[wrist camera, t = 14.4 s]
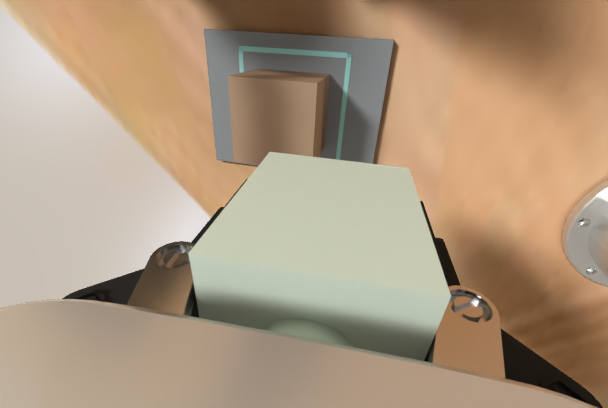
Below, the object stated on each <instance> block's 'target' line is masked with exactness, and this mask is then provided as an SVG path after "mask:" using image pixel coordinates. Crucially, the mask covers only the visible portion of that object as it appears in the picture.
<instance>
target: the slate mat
mask: <svg viewBox="0 0 608 408" xmlns="http://www.w3.org/2000/svg"><path fill="white" fill-rule="evenodd" d="M204 34H205V44H206V54H207V65H208V75H209V85H210V95H211V106H212V116H213V126H214V137H215V147H216V157H217V160H220V161H228V162H234V157H233V143H232V129H231V115H230V101H229V87H228V76H230V75H234V74H238V73H242V72H246V71H250V70H254V69H268V70H281V71H295V72H308V73H321V74H330V82H329V94H328V107H327V119H326V131H325V143H324V149H323V151H322V153H321V155H320V157H319V158H328V159H336V160H345V161H353V162H362V163H370V164H373V159H374V154H375V148H376V142H377V136H378V130H379V124H380V119H381V113H382V107H383V101H384V95H385V89H386V84H387V78H388V72H389V66H390V60H391V55H392V49H393V43H394V40H386V39H369V38H352V37H334V36H317V35H299V34H282V33H265V32H247V31H230V30H212V29H204ZM235 163H240V162H235ZM243 164H248V163H243ZM250 165H255V164H250ZM257 166H259V165H257Z"/></svg>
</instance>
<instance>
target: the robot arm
mask: <svg viewBox="0 0 608 408" xmlns="http://www.w3.org/2000/svg"><path fill="white" fill-rule="evenodd" d="M247 180H248V179H246V180H245V182H246V181H247ZM245 182H244V183H245ZM244 183H243V184H242V185H241V187H242V186H243V185H244ZM241 187H240V188H241ZM240 188H239V189H238V190H237V192H238V191H239V190H240ZM237 192H236V193H237ZM236 193H235V194H234V195H233V197H234V196H235V195H236ZM233 197H232V198H233ZM232 198H231V199H232ZM231 199H230V200H229V202H230V201H231ZM229 202H228V203H229ZM228 203H227V204H228ZM420 203H421V206H422V209H423V212H424V215H425V218H426V221H427V224H428V227H429V230H430V233H431V236H432V240H433V243H434V246H435V249H436V252H437V255H438V258H439V261H440V264H441V267H442V270H443V273H444V276H445V279H446V282H447V285H448V288H449V291H450V294H451V298H450V301H449V303H448V305H447V308H446V310H445V312H444V315H443V317H442V320H441V322H440V324H439V327H438V329H437V331H436V334H435V336H434V339H433V341H432V343H431V346H430V348H429V350H428V353H427V355H426V358H425V360H424V361H421V360H416V359H411V358H406V357H401V356H396V355H391V354H385V353H380V352H375V351H370V350H365V349H360V348H355V347H350V346H345V345H340V344H334V343H329V342H324V341H319V340H314V339H308V338H303V337H298V336H293V335H288V334H282V333H277V332H272V331H267V330H261V329H256V328H251V327H246V326H240V325H235V324H229V323H224V322H219V321H213V320H208V319H202V318H199V312H198V306H197V300H196V294H195V288H194V283H193V277H192V271H191V265H190V259H189V252H190V251H191V249H192V248H193V247H194V246H195V244H196V243H197V242H198V241H199V239H200V238H201V237H202V236H203V234H204V233H205V232H206V231H207V229H208V228H209V227H210V226H211V224H212V223H213V222H214V221H215V219H216V218H217V217H218V216H219V214H220V213H221V212H222V211H223V209H224V208H225V207H226V206H227V204H226V205H225V207H221V208H220V209H218V211H217V212H216V213H215V214H214V215H213V217H212V218H211V219H210V220H209V222H208V223H207V224H206V226H205V227H204V228H203V229H202V230H201V231H200V233H199V234H198V235H197V236H196V237H195V239H194V240H193V241H192V242H191V243H190V242H183V241H180V242H173V243H169V244H166V245H164V246H162V247H160V248H158V249H157V250H156V251H155V252H154V253H153V254H152V255H151V257H150V259H149V261H148V263H147V265H146V267H145V269H142V270H139V271H136V272H133V273H129V274H126V275H123V276H121V277H117V278H114V279H111V280H108V281H105V282H102V283H99V284H96V285H93V286H90V287H87V288H84V289H81V290H78V291H76V292H74V293H71V294H69V295H68V296H66V297H64V298H63V299H53V300H42V301H34V302H26V303H21V304H16V305H12V306H7V307H4V308H0V408H603V407H602V406H601V404H600V403H599V402H598V401H597V400H596V399H595V398H594V396H593V395H592V394H591V393H589V392H588V391H587V390H586V389H585V388H583V387H582V386H581V385H580V384H578V383H577V382H575V381H574V380H573V379H571V378H570V377H568V376H567V375H566V374H564V373H563V372H561V371H560V370H558V369H557V368H556V367H554V366H553V365H551V364H550V363H549V362H547V361H546V360H544V359H543V358H542V357H540V356H539V355H537V354H536V353H534V352H533V351H532V350H530V349H529V348H527V347H526V346H525V345H523V344H522V343H520V342H519V341H518V340H516V339H515V338H513V337H512V336H510V335H509V334H508V333H506V332H505V331H503V330H502V329H501V328H500V318H499V313H498V310H497V308H496V307H495V305H494V304H493V302H491V301H490V300H489V299H488V298H487V297H486V296H484V295H483V294H481V293H480V292H478V291H476V290H474V289H471V288H469V287H465V286H461V285H460V283H459V280H458V277H457V275H456V272H455V269H454V267H453V264H452V261H451V259H450V256H449V254H448V251H447V248H446V246H445V243H444V241H443V239H441V238H435V236H434V234H433V231H432V228H431V225H430V222H429V219H428V216H427V213H426V210H425V207H424V204H423V202H422V201H420ZM562 247H563V251H564V253H565V255H566V257H567V259H568V260H569V262H570V263H571V264H572V265H573V266H574V268H575V269H576V270H577V271H578V272H579V273H581V274H582V275H583V276H584V277H586V278H588V279H590V280H592V281H594V282H596V283H599V284H602V285H605V286H608V180H606V181H605V182H603V183H601V184H600V185H598V186H597V187H595V188H594V189H593V190H592V191H590V192H589V193H588V194H587V195H585V196H584V197H583V198H582V199H581V200H580V201H579V203H578V204H577V205H576V206H575V207H574V208H573V210H572V211H571V213H570V214H569V216H568V218H567V219H566V222H565V225H564V227H563V230H562Z"/></svg>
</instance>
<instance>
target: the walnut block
mask: <svg viewBox="0 0 608 408" xmlns="http://www.w3.org/2000/svg"><path fill="white" fill-rule="evenodd" d="M329 82H330V74H321V73H308V72H295V71H281V70H268V69H254V70H250V71H246V72H242V73H238V74H234V75H230V76H228V87H229V101H230V115H231V129H232V143H233V157H234V162H240V163H248V164H255V165H260V163H261V162H262V161H263V160H264V158H265V157H266V156H267V155H268V153H269V152H277V153H285V154H294V155H302V156H311V157H320V155H321V153H322V151H323V149H324V143H325V131H326V119H327V107H328V94H329Z"/></svg>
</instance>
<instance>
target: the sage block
mask: <svg viewBox="0 0 608 408" xmlns="http://www.w3.org/2000/svg"><path fill="white" fill-rule="evenodd" d="M189 259H190V265H191V271H192V277H193V283H194V288H195V294H196V300H197V306H198V312H199V318H202V319H208V320H213V321H219V322H224V323H229V324H235V325H240V326H246V327H251V328H256V329H261V330H267V331H272V332H277V333H282V334H288V335H293V336H298V337H303V338H308V339H314V340H319V341H324V342H329V343H334V344H340V345H345V346H350V347H355V348H360V349H365V350H370V351H375V352H380V353H385V354H391V355H396V356H401V357H406V358H411V359H416V360H421V361H424V360H425V358H426V355H427V353H428V350H429V348H430V346H431V343H432V341H433V339H434V336H435V334H436V331H437V329H438V327H439V324H440V322H441V320H442V317H443V315H444V312H445V310H446V308H447V305H448V303H449V301H450V298H451V294H450V291H449V288H448V285H447V282H446V279H445V276H444V273H443V270H442V267H441V264H440V261H439V258H438V255H437V252H436V249H435V246H434V243H433V240H432V236H431V233H430V230H429V227H428V224H427V221H426V218H425V215H424V212H423V209H422V206H421V203H420V200H419V197H418V194H417V191H416V188H415V185H414V182H413V179H412V176H411V173H410V170H409V168H404V167H396V166H387V165H379V164H370V163H362V162H353V161H345V160H336V159H328V158H319V157H311V156H302V155H294V154H285V153H277V152H269V153H268V155H267V156H266V157H265V158H264V160H263V161H262V162H261V163H260V165H259V166H258V167H257V168H256V170H255V171H254V172H253V173H252V175H251V176H250V177H249V178H248V180H247V181H246V182H245V183H244V185H243V186H242V187H241V188H240V190H239V191H238V192H237V193H236V195H235V196H234V197H233V198H232V199H231V201H230V202H229V203H228V204H227V206H226V207H225V208H224V209H223V211H222V212H221V213H220V214H219V216H218V217H217V218H216V219H215V221H214V222H213V223H212V224H211V226H210V227H209V228H208V229H207V231H206V232H205V233H204V234H203V236H202V237H201V238H200V239H199V241H198V242H197V243H196V244H195V246H194V247H193V248H192V249H191V251H190V252H189Z"/></svg>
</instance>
